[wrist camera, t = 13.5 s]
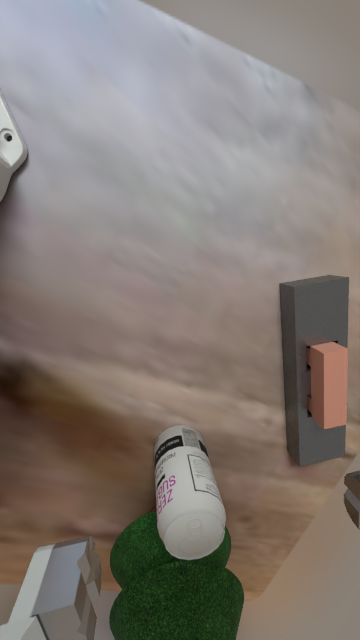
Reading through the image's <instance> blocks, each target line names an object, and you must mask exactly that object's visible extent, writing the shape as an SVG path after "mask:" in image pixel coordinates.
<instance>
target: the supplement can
mask: <svg viewBox="0 0 360 640" xmlns="http://www.w3.org/2000/svg"><path fill="white" fill-rule="evenodd" d="M154 464H155V486H156V508H157V528H158V532H159V535H160V538H161V539H162V541H163V542H164V544H165V548H166V549H167V551H168V552H169V553H170V554H171V555H173V556H175V557H177V558H179V559H185V560H193V559H200V558H202V557H204V556H207V555H209V554H211V553H212V552H213V551H214V550H216V549H217V548H218V547H219V545H220V544H221V542H222V541H223V538H224V534H225V530H224V528H225V523H226V514H225V509H224V506H223V502H222V499H221V496H220V493H219V490H218V486H217V483H216V480H215V477H214V474H213V470H212V467H211V464H210V461H209V458H208V454H207V451H206V448H205V445H204V441H203V438H202V436H201V435H200V433H199V432H198V431H197V430H195V429H194V428H192V427H189V426H185V425H179V426H173V427H170V428H168V429H166V430H165V431H163V432H162V433H161V434H160V435H159V436H158V438H157V440H156V441H155V446H154Z"/></svg>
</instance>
